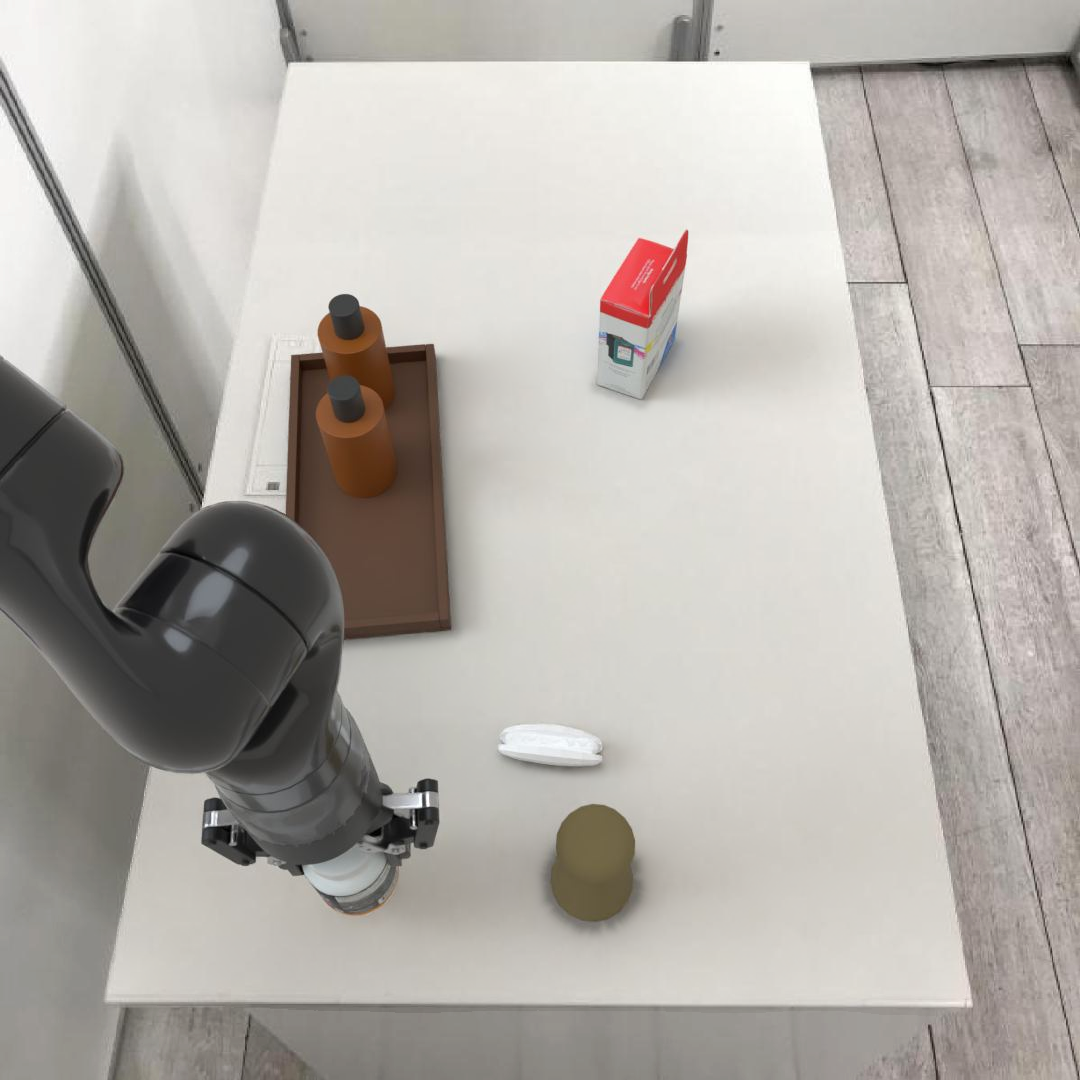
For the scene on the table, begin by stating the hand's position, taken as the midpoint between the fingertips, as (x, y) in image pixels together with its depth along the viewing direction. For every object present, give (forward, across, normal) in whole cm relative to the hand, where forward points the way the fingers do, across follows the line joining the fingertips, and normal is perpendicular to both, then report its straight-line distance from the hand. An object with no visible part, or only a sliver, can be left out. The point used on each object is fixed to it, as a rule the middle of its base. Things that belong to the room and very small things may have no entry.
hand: (347, 855), depth 70 cm
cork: (+9, -16, +1) cm, 19 cm away
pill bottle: (+6, 0, 0) cm, 6 cm away
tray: (+9, 0, -35) cm, 36 cm away
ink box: (+9, -26, -47) cm, 55 cm away
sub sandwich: (+9, -14, -9) cm, 19 cm away
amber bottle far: (+9, 0, -46) cm, 46 cm away
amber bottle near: (+9, 0, -37) cm, 38 cm away
